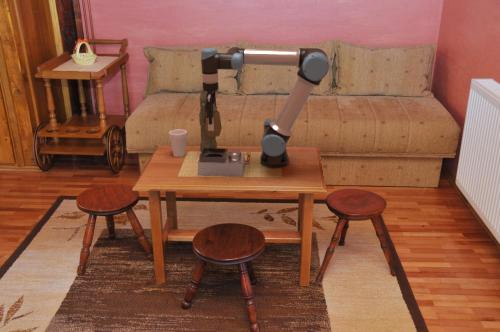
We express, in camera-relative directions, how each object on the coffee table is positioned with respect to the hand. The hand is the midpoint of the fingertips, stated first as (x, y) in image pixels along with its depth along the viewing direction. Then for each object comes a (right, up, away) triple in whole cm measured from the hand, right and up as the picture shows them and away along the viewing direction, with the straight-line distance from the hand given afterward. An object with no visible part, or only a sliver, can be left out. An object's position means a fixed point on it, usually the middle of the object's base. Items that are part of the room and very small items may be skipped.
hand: (212, 127), depth 255 cm
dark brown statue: (-4, -13, +29) cm, 32 cm away
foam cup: (-20, -13, +28) cm, 37 cm away
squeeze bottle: (+1, -4, +2) cm, 4 cm away
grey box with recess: (+4, -20, +10) cm, 23 cm away
